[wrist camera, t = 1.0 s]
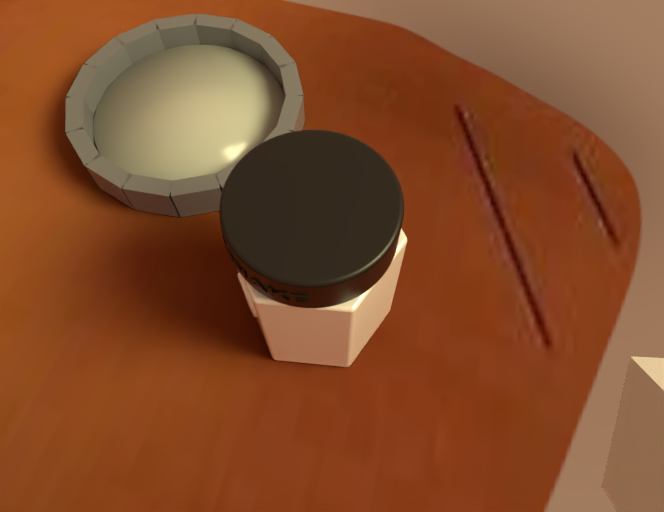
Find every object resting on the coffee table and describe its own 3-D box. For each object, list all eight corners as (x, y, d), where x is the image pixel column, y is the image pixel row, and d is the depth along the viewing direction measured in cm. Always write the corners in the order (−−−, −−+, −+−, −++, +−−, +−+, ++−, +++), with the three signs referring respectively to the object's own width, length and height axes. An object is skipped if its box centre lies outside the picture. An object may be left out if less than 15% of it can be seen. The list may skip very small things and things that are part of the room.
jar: (232, 269, 36) (189, 156, 25) (346, 224, 38) (351, 99, 27) (284, 396, 32) (259, 327, 22) (408, 340, 34) (443, 250, 23)
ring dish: (33, 146, 40) (15, 122, 38) (180, 14, 47) (172, -13, 44) (209, 257, 36) (200, 238, 34) (344, 96, 43) (345, 71, 40)
